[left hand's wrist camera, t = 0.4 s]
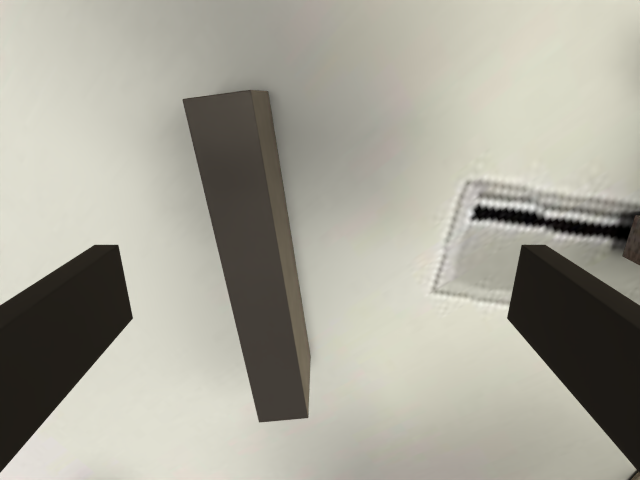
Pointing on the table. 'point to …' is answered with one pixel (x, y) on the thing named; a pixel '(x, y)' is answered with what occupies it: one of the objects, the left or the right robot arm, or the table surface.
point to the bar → (254, 245)
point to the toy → (633, 242)
